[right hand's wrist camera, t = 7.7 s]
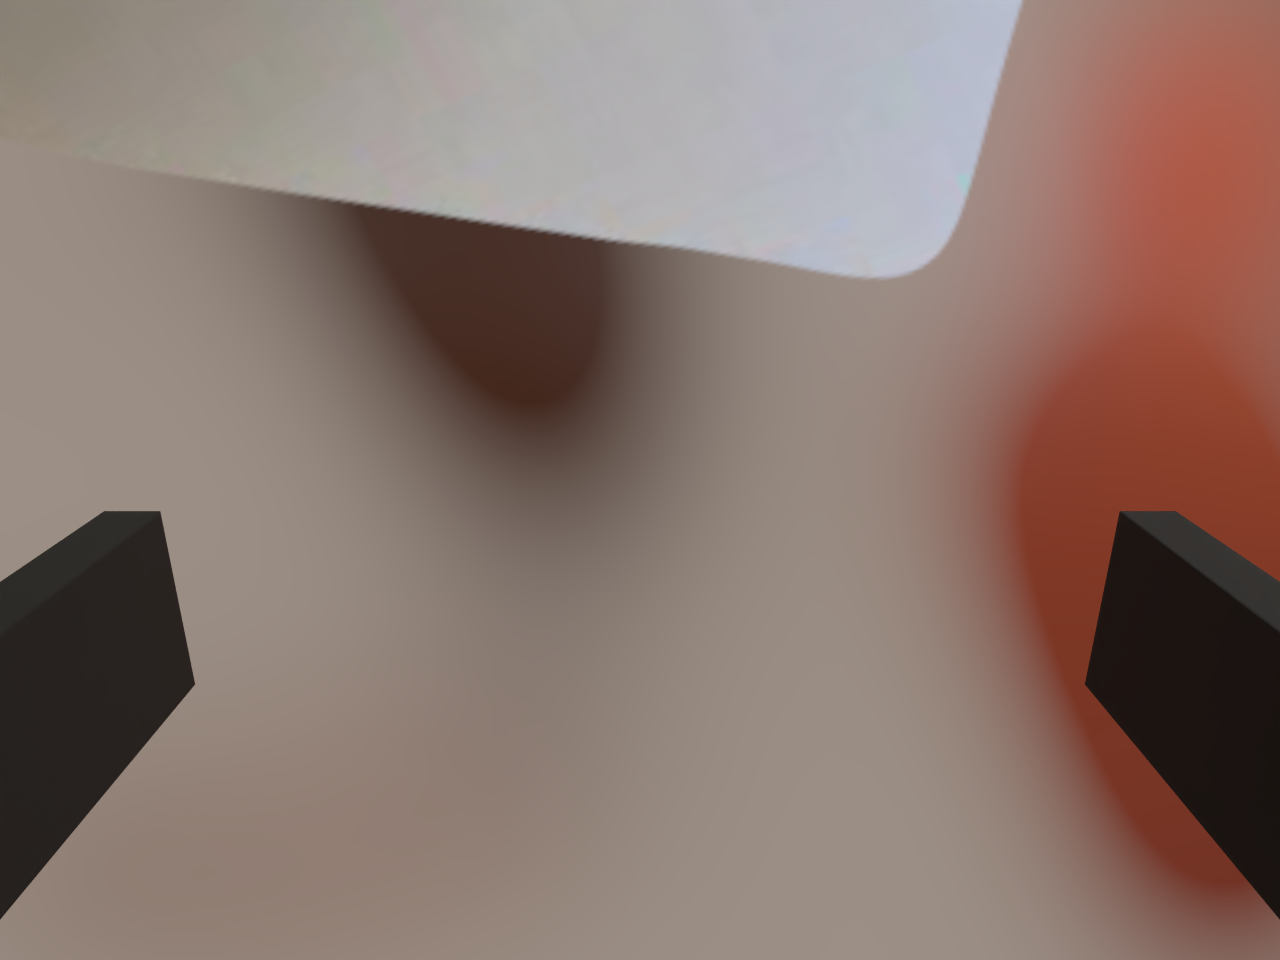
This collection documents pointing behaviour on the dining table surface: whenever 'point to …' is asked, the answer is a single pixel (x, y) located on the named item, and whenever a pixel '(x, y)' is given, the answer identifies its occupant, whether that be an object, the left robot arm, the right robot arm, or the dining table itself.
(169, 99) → the dining table surface
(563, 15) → the dining table surface
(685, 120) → the dining table surface
